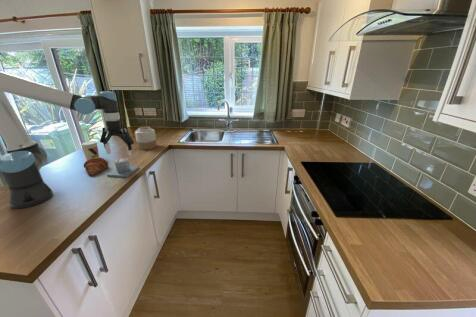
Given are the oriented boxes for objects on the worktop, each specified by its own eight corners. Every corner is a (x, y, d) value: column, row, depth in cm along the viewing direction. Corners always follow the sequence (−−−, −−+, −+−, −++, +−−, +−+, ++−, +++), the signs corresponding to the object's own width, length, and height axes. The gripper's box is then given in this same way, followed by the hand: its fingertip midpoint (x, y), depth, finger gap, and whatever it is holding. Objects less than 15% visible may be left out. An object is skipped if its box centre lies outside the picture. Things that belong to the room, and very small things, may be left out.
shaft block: (126, 177, 123) (123, 165, 120) (107, 176, 124) (104, 164, 121) (139, 168, 136) (137, 156, 133) (122, 167, 137) (120, 155, 134)
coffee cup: (93, 161, 145) (88, 145, 141) (82, 160, 147) (77, 144, 143) (103, 156, 154) (99, 141, 150) (93, 155, 156) (88, 140, 151)
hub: (125, 173, 126) (123, 162, 123) (114, 172, 126) (112, 162, 124) (132, 168, 132) (130, 158, 130) (122, 167, 133) (119, 157, 130)
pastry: (116, 168, 136) (114, 157, 133) (91, 177, 123) (88, 165, 120) (102, 163, 143) (99, 152, 141) (77, 171, 131) (74, 159, 128)
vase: (133, 149, 171) (129, 129, 165) (145, 143, 185) (142, 125, 179) (149, 150, 168) (146, 130, 162) (160, 145, 182) (157, 126, 175)
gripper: (137, 119, 120) (142, 153, 127) (97, 117, 122) (104, 151, 130) (129, 122, 113) (134, 158, 120) (87, 119, 115) (95, 155, 123)
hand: (119, 154), depth 125 cm, fingers open, 13 cm apart
